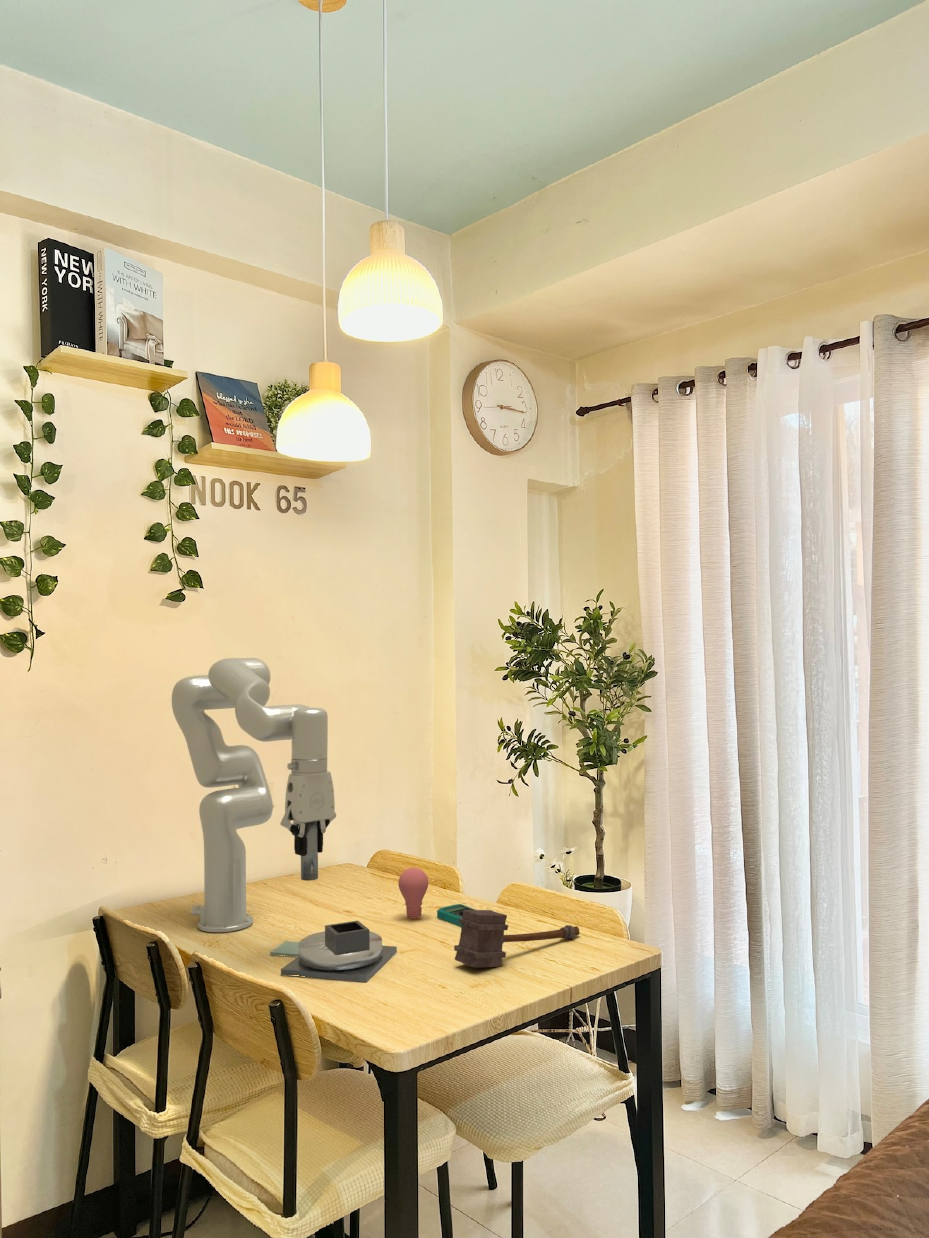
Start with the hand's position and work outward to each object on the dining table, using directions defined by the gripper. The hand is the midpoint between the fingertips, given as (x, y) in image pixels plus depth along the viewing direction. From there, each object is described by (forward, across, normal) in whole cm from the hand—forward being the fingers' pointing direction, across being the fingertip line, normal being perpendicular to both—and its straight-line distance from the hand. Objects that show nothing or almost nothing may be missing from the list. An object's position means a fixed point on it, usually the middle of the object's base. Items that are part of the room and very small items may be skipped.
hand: (308, 852), depth 194 cm
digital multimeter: (+22, +39, -9) cm, 46 cm away
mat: (+22, 0, +4) cm, 22 cm away
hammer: (+21, +32, -33) cm, 50 cm away
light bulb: (+22, +32, +2) cm, 39 cm away
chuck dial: (+20, +1, -10) cm, 22 cm away
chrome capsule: (+5, 0, 0) cm, 5 cm away
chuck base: (+21, +1, -10) cm, 23 cm away
